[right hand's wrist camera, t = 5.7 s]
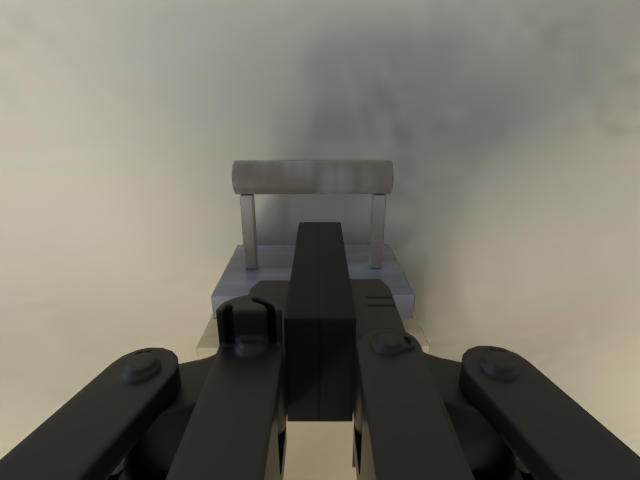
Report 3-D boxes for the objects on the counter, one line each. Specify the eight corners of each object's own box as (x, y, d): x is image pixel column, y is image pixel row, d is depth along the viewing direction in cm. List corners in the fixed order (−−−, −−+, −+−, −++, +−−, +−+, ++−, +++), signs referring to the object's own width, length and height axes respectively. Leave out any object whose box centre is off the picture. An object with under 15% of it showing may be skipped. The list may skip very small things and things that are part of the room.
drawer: (230, 151, 21) (197, 172, 15) (395, 151, 21) (427, 172, 15) (256, 484, 29) (242, 580, 24) (373, 483, 30) (388, 579, 24)
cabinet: (233, 269, 24) (195, 347, 17) (394, 268, 24) (430, 346, 17) (253, 501, 31) (233, 631, 24) (377, 500, 32) (397, 629, 24)
